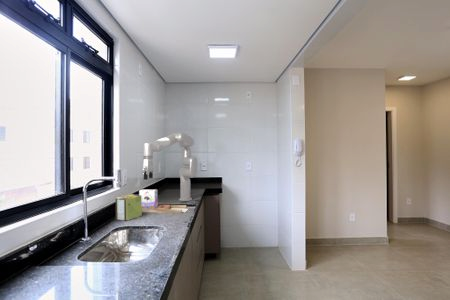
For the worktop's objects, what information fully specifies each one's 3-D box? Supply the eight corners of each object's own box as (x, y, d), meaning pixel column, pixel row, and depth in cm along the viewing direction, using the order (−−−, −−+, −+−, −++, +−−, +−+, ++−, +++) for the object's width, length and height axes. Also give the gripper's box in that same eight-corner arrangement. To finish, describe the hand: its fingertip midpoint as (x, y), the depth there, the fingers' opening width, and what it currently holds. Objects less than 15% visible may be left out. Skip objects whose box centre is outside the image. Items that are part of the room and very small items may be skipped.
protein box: (142, 215, 192) (141, 195, 192) (126, 221, 178) (125, 199, 178) (131, 214, 197) (131, 194, 197) (115, 219, 183) (115, 197, 183)
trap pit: (162, 208, 214) (162, 204, 214) (170, 208, 213) (170, 205, 213) (157, 211, 203) (157, 208, 203) (165, 212, 202) (165, 208, 202)
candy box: (157, 209, 212) (157, 189, 212) (155, 210, 206) (155, 190, 206) (141, 208, 213) (141, 189, 213) (138, 210, 208) (138, 190, 207)
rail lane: (143, 207, 218) (143, 204, 218) (186, 208, 214) (186, 205, 214) (134, 211, 203) (134, 208, 203) (181, 213, 199) (181, 209, 199)
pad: (171, 208, 213) (171, 208, 213) (188, 209, 211) (188, 208, 211) (166, 212, 202) (166, 211, 202) (185, 212, 201) (185, 212, 201)
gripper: (148, 157, 219) (148, 177, 219) (139, 158, 202) (139, 180, 202) (156, 157, 218) (156, 177, 218) (148, 158, 201) (148, 180, 201)
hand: (148, 178), depth 210 cm, fingers open, 9 cm apart
